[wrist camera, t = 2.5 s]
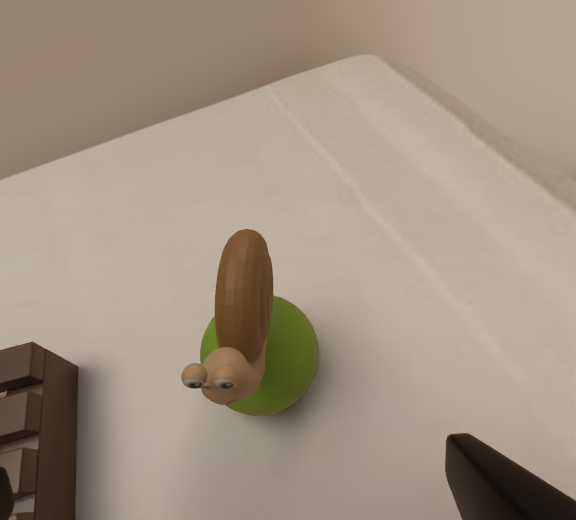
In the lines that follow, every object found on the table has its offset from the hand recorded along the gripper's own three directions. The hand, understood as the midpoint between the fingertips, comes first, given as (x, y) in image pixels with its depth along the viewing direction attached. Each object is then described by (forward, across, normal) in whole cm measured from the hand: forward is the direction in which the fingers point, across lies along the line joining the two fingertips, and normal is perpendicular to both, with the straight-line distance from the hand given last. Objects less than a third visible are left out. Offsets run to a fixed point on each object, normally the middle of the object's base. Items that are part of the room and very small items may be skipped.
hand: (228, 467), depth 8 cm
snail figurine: (+11, 0, +5) cm, 12 cm away
